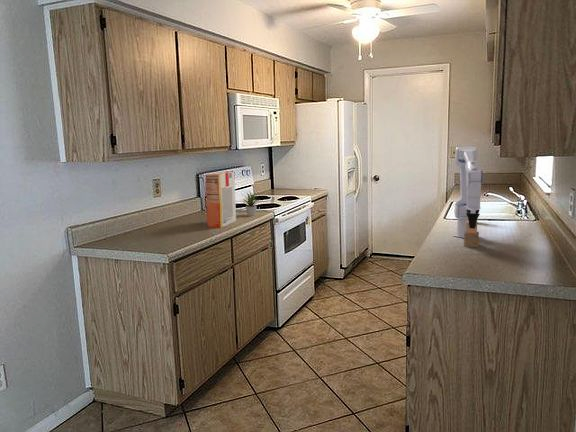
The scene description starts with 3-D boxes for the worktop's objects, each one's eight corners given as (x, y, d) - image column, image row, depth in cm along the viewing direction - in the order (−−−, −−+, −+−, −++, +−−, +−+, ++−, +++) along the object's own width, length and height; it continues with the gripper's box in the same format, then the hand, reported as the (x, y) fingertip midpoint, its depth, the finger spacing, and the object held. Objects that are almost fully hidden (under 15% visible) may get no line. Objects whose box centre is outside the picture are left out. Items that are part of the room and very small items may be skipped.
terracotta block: (466, 231, 222) (466, 220, 221) (476, 231, 221) (477, 221, 220) (466, 233, 218) (466, 222, 217) (476, 233, 216) (477, 222, 216)
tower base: (464, 243, 224) (464, 237, 223) (478, 244, 222) (478, 238, 221) (464, 246, 218) (464, 240, 218) (478, 247, 216) (478, 240, 216)
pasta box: (223, 220, 297) (221, 171, 292) (236, 220, 294) (234, 171, 289) (207, 227, 275) (205, 174, 270) (220, 227, 273) (218, 174, 268)
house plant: (268, 214, 313) (268, 189, 310) (254, 218, 302) (253, 192, 299) (252, 213, 321) (251, 188, 319) (238, 216, 311) (237, 190, 308)
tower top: (464, 237, 223) (464, 231, 223) (478, 238, 221) (478, 231, 221) (464, 240, 218) (464, 233, 217) (478, 240, 216) (478, 234, 215)
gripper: (464, 194, 225) (463, 223, 227) (463, 198, 211) (462, 229, 214) (480, 195, 222) (479, 224, 224) (481, 199, 209) (479, 230, 211)
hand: (472, 226), depth 219 cm, fingers open, 7 cm apart
